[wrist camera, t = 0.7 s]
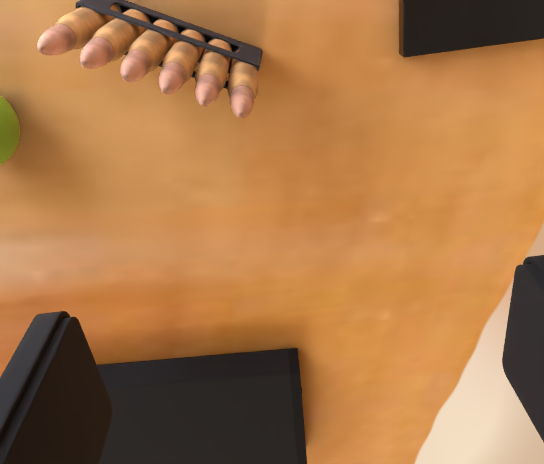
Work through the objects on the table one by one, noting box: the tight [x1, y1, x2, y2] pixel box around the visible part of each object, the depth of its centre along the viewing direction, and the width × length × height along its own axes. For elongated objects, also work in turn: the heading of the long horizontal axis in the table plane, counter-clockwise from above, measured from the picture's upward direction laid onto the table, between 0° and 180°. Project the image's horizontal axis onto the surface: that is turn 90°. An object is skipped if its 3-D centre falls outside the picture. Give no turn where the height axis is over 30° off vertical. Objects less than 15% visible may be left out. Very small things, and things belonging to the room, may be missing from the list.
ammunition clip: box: [37, 0, 263, 118], centre depth 28 cm, size 11×2×12 cm, turn 71°
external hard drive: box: [97, 348, 307, 464], centre depth 49 cm, size 14×23×3 cm, turn 95°
